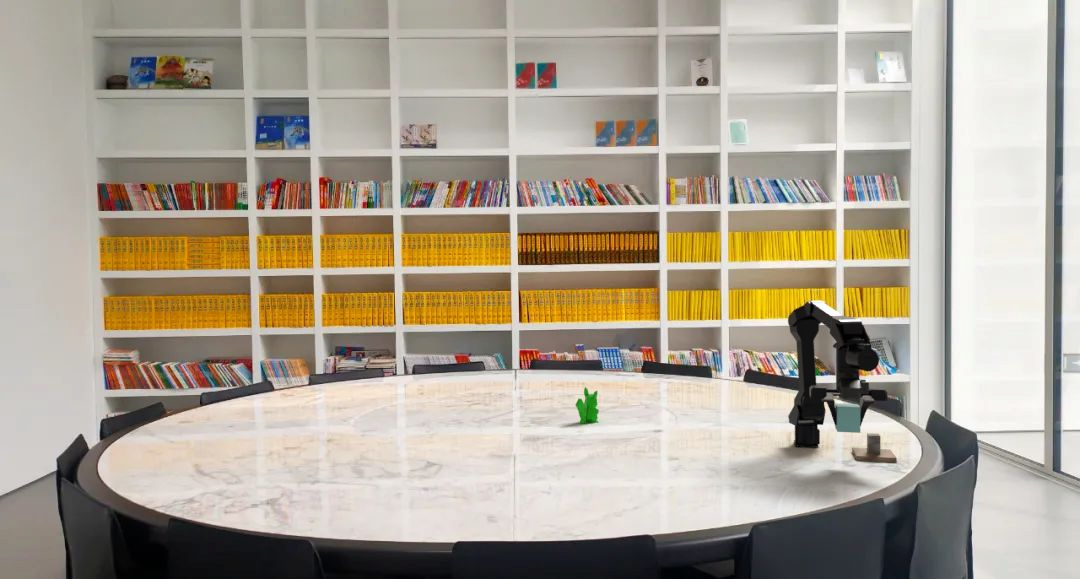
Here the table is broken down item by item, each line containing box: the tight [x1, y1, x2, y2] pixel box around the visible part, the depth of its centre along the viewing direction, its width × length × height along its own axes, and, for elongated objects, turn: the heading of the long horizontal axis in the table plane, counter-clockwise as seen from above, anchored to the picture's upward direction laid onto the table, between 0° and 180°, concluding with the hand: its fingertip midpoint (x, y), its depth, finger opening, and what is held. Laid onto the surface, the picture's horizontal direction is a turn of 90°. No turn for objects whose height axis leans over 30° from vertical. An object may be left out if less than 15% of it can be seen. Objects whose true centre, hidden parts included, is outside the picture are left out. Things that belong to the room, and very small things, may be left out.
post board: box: [851, 432, 898, 463], centre depth 213 cm, size 10×10×6 cm
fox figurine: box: [575, 386, 600, 425], centre depth 264 cm, size 6×10×12 cm, turn 134°
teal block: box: [834, 403, 861, 434], centre depth 205 cm, size 6×6×6 cm
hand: (847, 425), depth 205 cm, fingers closed on teal block, 6 cm apart
